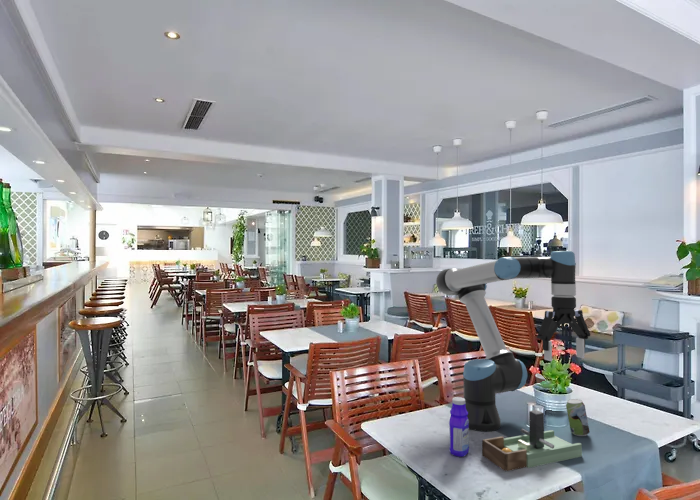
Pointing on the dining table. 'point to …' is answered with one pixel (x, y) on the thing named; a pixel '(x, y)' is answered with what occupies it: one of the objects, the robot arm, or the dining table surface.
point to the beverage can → (577, 417)
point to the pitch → (546, 449)
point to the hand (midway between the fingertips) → (564, 359)
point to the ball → (506, 450)
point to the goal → (503, 454)
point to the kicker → (535, 432)
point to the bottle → (459, 428)
